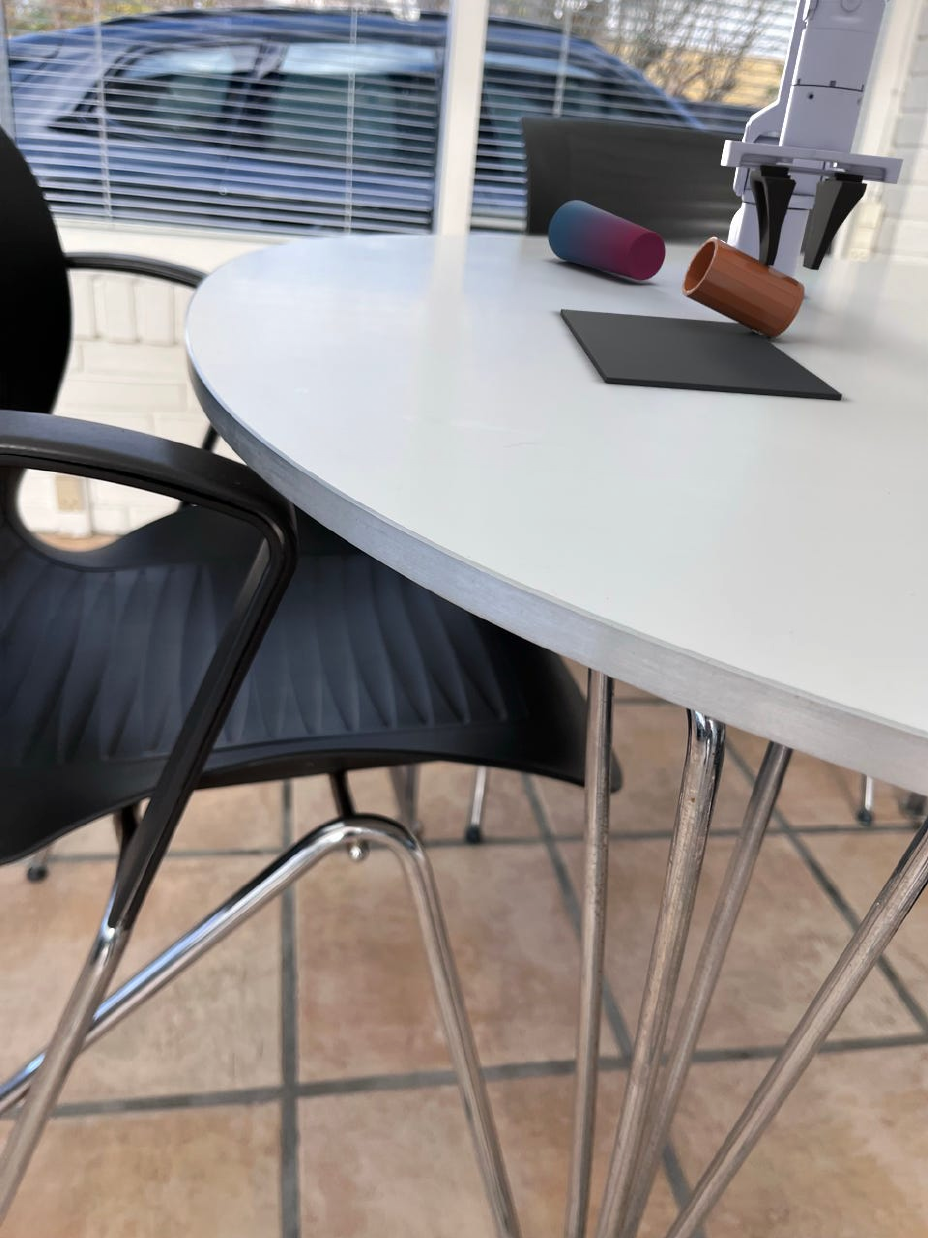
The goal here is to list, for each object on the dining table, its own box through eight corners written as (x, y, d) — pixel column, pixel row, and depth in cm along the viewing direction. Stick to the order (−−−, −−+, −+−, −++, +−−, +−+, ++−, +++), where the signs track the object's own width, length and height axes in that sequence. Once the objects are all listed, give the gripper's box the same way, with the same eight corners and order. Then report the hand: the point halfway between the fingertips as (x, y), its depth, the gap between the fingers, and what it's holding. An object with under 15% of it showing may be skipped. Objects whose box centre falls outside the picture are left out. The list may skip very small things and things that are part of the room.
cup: (674, 278, 112) (599, 251, 124) (671, 215, 108) (594, 193, 120) (622, 296, 111) (551, 267, 122) (617, 232, 107) (544, 208, 118)
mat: (560, 313, 92) (560, 308, 92) (742, 327, 94) (743, 323, 94) (606, 382, 71) (606, 376, 71) (841, 399, 73) (842, 394, 72)
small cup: (759, 329, 93) (676, 287, 91) (792, 276, 91) (707, 231, 89) (778, 345, 89) (691, 301, 87) (812, 289, 87) (724, 243, 84)
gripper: (755, 77, 78) (719, 264, 84) (936, 98, 79) (888, 280, 85) (729, 80, 84) (697, 253, 90) (897, 99, 86) (855, 269, 91)
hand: (788, 266), depth 88 cm, fingers open, 3 cm apart
